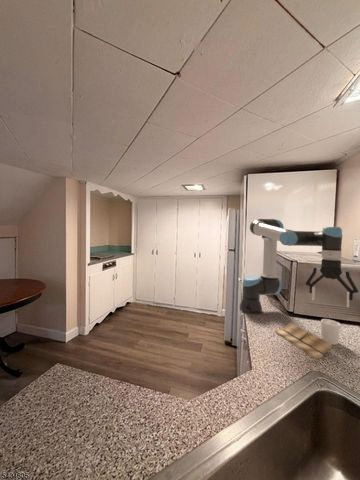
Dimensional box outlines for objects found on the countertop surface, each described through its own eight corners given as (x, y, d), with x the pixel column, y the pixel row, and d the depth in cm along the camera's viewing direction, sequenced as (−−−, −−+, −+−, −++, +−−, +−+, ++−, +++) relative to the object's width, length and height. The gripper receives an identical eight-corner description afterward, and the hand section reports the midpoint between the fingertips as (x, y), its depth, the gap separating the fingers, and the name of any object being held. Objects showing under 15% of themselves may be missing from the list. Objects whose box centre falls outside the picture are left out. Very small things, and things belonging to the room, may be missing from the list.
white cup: (339, 347, 98) (340, 327, 98) (319, 342, 103) (320, 322, 102) (339, 340, 104) (340, 321, 104) (320, 335, 109) (321, 317, 109)
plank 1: (283, 330, 113) (282, 328, 112) (291, 324, 114) (290, 322, 114) (300, 340, 102) (299, 339, 102) (308, 333, 103) (307, 331, 103)
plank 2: (302, 341, 101) (301, 340, 101) (310, 334, 102) (309, 332, 102) (323, 354, 91) (322, 352, 90) (332, 346, 92) (331, 344, 92)
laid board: (275, 332, 112) (275, 330, 112) (282, 331, 113) (282, 329, 113) (315, 358, 89) (315, 355, 89) (323, 357, 90) (323, 354, 90)
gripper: (299, 257, 103) (298, 298, 104) (366, 262, 86) (364, 312, 86) (303, 256, 109) (302, 295, 109) (366, 261, 91) (365, 308, 92)
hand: (329, 303), depth 98 cm, fingers open, 13 cm apart
